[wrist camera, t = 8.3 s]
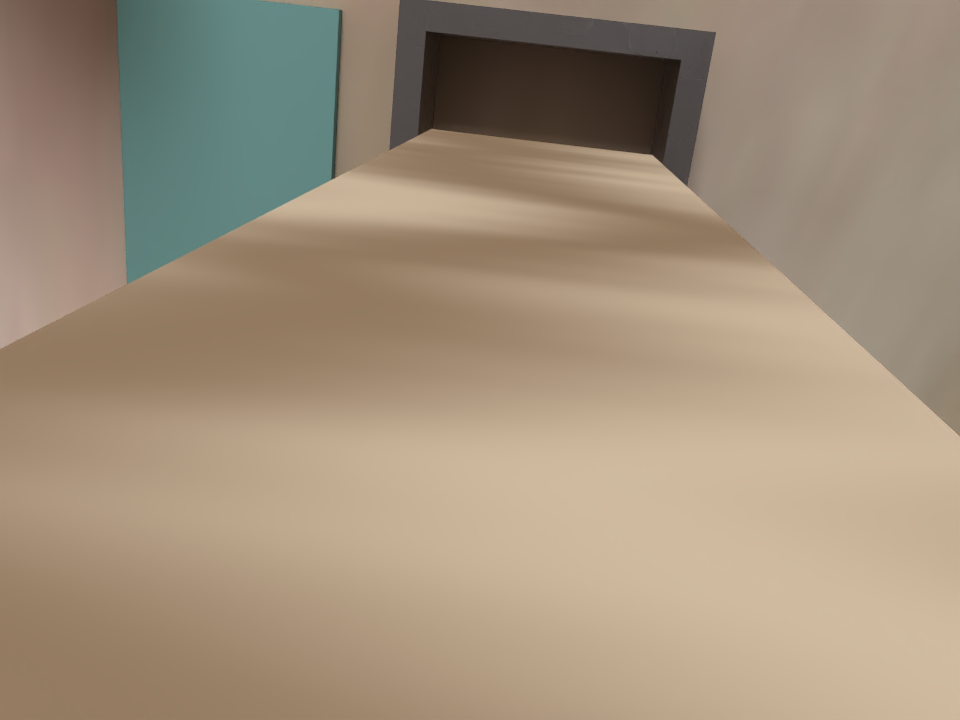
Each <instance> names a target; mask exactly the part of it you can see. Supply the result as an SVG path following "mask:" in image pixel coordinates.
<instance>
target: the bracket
mask: <svg viewBox="0 0 960 720" xmlns="http://www.w3.org/2000/svg"><path fill="white" fill-rule="evenodd" d="M440 35H444V36H452V37H461V38H470V39H479V40H488V41H497V42H505V43H514V44H523V45H532V46H541V47H550V48H558V49H567V50H576V51H585V52H594V53H602V54H611V55H620V56H629V57H638V58H647V59H655V60H664V61H666V67H665V73H664V78H663V84H662V90H661V96H660V102H659V107H658V113H657V119H656V125H655V131H654V136H653V142H652V148H651V154H650V155H653V156H654V157H655V158H656V159H657V160H658V161H660V162H661V163H662V164H663V165H664V166H665V167H666V168H667V169H668V170H669V171H670V172H672V173H673V174H674V175H675V176H676V177H677V178H678V179H679V180H680V181H681V182H682V183H684V184H685V185H686V186H687V182H688V177H689V172H690V166H691V161H692V156H693V151H694V145H695V140H696V135H697V130H698V124H699V119H700V114H701V109H702V103H703V98H704V93H705V87H706V82H707V77H708V72H709V66H710V61H711V56H712V51H713V45H714V40H715V35H716V32H707V31H698V30H689V29H680V28H671V27H662V26H653V25H644V24H635V23H626V22H618V21H609V20H600V19H591V18H582V17H573V16H564V15H555V14H546V13H537V12H528V11H519V10H510V9H501V8H492V7H483V6H474V5H465V4H456V3H447V2H438V1H429V0H400V6H399V20H398V35H397V49H396V64H395V79H394V93H393V108H392V122H391V137H390V150H391V149H393V148H395V147H397V146H399V145H401V144H403V143H405V142H407V141H409V140H411V139H413V138H415V137H417V136H419V135H420V134H422V133H424V132H426V131H428V130H430V129H432V127H433V116H434V104H435V92H436V80H437V69H438V57H439V45H440Z"/></svg>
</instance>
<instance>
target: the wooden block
mask: <svg viewBox="0 0 960 720" xmlns="http://www.w3.org/2000/svg"><path fill="white" fill-rule="evenodd" d="M0 720H960V436H959V435H958V434H956V433H955V432H954V431H953V430H952V429H951V428H950V427H949V426H948V425H947V424H946V423H944V422H943V421H942V420H941V419H940V418H939V417H938V416H937V415H936V414H935V413H934V412H932V411H931V410H930V409H929V408H928V407H927V406H926V405H925V404H924V403H923V402H922V401H920V400H919V399H918V398H917V397H916V396H915V395H914V394H913V393H912V392H911V391H910V390H908V389H907V388H906V387H905V386H904V385H903V384H902V383H901V382H900V381H899V380H898V379H896V378H895V377H894V376H893V375H892V374H891V373H890V372H889V371H888V370H887V369H886V368H884V367H883V366H882V365H881V364H880V363H879V362H878V361H877V360H876V359H875V358H873V357H872V356H871V355H870V354H869V353H868V352H867V351H866V350H865V349H864V348H863V347H861V346H860V345H859V344H858V343H857V342H856V341H855V340H854V339H853V338H852V337H851V336H849V335H848V334H847V333H846V332H845V331H844V330H843V329H842V328H841V327H840V326H839V325H837V324H836V323H835V322H834V321H833V320H832V319H831V318H830V317H829V316H828V315H827V314H825V313H824V312H823V311H822V310H821V309H820V308H819V307H818V306H817V305H816V304H815V303H813V302H812V301H811V300H810V299H809V298H808V297H807V296H806V295H805V294H804V293H803V292H801V291H800V290H799V289H798V288H797V287H796V286H795V285H794V284H793V283H792V282H791V281H789V280H788V279H787V278H786V277H785V276H784V275H783V274H782V273H781V272H780V271H779V270H777V269H776V268H775V267H774V266H773V265H772V264H771V263H770V262H769V261H768V260H767V259H765V258H764V257H763V256H762V255H761V254H760V253H759V252H758V251H757V250H756V249H754V248H753V247H752V246H751V245H750V244H749V243H748V242H747V241H746V240H745V239H744V238H742V237H741V236H740V235H739V234H738V233H737V232H736V231H735V230H734V229H733V228H732V227H730V226H729V225H728V224H727V223H726V222H725V221H724V220H723V219H722V218H721V217H720V216H718V215H717V214H716V213H715V212H714V211H713V210H712V209H711V208H710V207H709V206H708V205H706V204H705V203H704V202H703V201H702V200H701V199H700V198H699V197H698V196H697V195H696V194H694V193H693V192H692V191H691V190H690V189H689V188H688V187H687V186H686V185H685V184H684V183H682V182H681V181H680V180H679V179H678V178H677V177H676V176H675V175H674V174H673V173H672V172H670V171H669V170H668V169H667V168H666V167H665V166H664V165H663V164H662V163H661V162H660V161H658V160H657V159H656V158H655V157H654V156H653V155H647V154H639V153H630V152H622V151H613V150H605V149H596V148H588V147H579V146H571V145H562V144H554V143H546V142H537V141H529V140H520V139H512V138H503V137H495V136H486V135H478V134H470V133H461V132H453V131H444V130H436V129H430V130H428V131H426V132H424V133H422V134H420V135H419V136H417V137H415V138H413V139H411V140H409V141H407V142H405V143H403V144H401V145H399V146H397V147H395V148H393V149H391V150H389V151H387V152H385V153H383V154H381V155H379V156H377V157H375V158H374V159H372V160H370V161H368V162H366V163H364V164H362V165H360V166H358V167H356V168H354V169H352V170H350V171H348V172H346V173H344V174H342V175H340V176H338V177H336V178H334V179H332V180H330V181H329V182H327V183H325V184H323V185H321V186H319V187H317V188H315V189H313V190H311V191H309V192H307V193H305V194H303V195H301V196H299V197H297V198H295V199H293V200H291V201H289V202H287V203H285V204H283V205H282V206H280V207H278V208H276V209H274V210H272V211H270V212H268V213H266V214H264V215H262V216H260V217H258V218H256V219H254V220H252V221H250V222H248V223H246V224H244V225H242V226H240V227H238V228H237V229H235V230H233V231H231V232H229V233H227V234H225V235H223V236H221V237H219V238H217V239H215V240H213V241H211V242H209V243H207V244H205V245H203V246H201V247H199V248H197V249H195V250H193V251H192V252H190V253H188V254H186V255H184V256H182V257H180V258H178V259H176V260H174V261H172V262H170V263H168V264H166V265H164V266H162V267H160V268H158V269H156V270H154V271H152V272H150V273H148V274H147V275H145V276H143V277H141V278H139V279H137V280H135V281H133V282H131V283H129V284H127V285H125V286H123V287H121V288H119V289H117V290H115V291H113V292H111V293H109V294H107V295H105V296H103V297H101V298H100V299H98V300H96V301H94V302H92V303H90V304H88V305H86V306H84V307H82V308H80V309H78V310H76V311H74V312H72V313H70V314H68V315H66V316H64V317H62V318H60V319H58V320H56V321H55V322H53V323H51V324H49V325H47V326H45V327H43V328H41V329H39V330H37V331H35V332H33V333H31V334H29V335H27V336H25V337H23V338H21V339H19V340H17V341H15V342H13V343H11V344H10V345H8V346H6V347H4V348H2V349H0Z"/></svg>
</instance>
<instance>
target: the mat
mask: <svg viewBox="0 0 960 720" xmlns="http://www.w3.org/2000/svg"><path fill="white" fill-rule="evenodd" d="M116 1H117V28H118V54H119V81H120V107H121V133H122V160H123V186H124V213H125V239H126V266H127V284H129V283H131V282H133V281H135V280H137V279H139V278H141V277H143V276H145V275H147V274H148V273H150V272H152V271H154V270H156V269H158V268H160V267H162V266H164V265H166V264H168V263H170V262H172V261H174V260H176V259H178V258H180V257H182V256H184V255H186V254H188V253H190V252H192V251H193V250H195V249H197V248H199V247H201V246H203V245H205V244H207V243H209V242H211V241H213V240H215V239H217V238H219V237H221V236H223V235H225V234H227V233H229V232H231V231H233V230H235V229H237V228H238V227H240V226H242V225H244V224H246V223H248V222H250V221H252V220H254V219H256V218H258V217H260V216H262V215H264V214H266V213H268V212H270V211H272V210H274V209H276V208H278V207H280V206H282V205H283V204H285V203H287V202H289V201H291V200H293V199H295V198H297V197H299V196H301V195H303V194H305V193H307V192H309V191H311V190H313V189H315V188H317V187H319V186H321V185H323V184H325V183H327V182H329V181H330V180H332V179H334V171H335V150H336V129H337V108H338V86H339V65H340V44H341V23H342V10H338V9H329V8H320V7H311V6H302V5H294V4H285V3H276V2H267V1H258V0H116Z"/></svg>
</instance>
